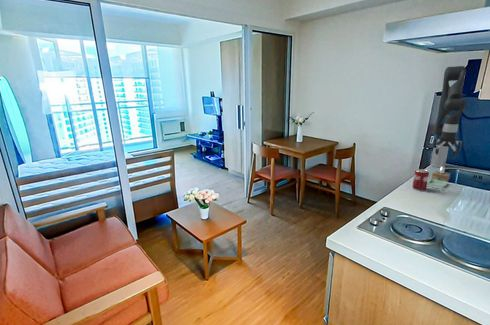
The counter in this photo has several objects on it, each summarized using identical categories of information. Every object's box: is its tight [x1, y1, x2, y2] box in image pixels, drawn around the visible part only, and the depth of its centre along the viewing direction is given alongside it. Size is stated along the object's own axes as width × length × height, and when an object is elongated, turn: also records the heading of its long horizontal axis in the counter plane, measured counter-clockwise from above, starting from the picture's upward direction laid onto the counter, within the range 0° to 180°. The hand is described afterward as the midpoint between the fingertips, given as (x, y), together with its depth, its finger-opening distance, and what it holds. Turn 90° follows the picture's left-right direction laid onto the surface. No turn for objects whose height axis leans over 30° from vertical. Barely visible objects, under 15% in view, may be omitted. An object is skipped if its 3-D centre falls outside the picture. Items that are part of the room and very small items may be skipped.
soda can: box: [411, 168, 430, 192], centre depth 159 cm, size 7×7×12 cm
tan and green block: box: [430, 170, 451, 183], centre depth 171 cm, size 13×9×5 cm
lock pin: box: [438, 165, 446, 174], centre depth 171 cm, size 3×3×9 cm
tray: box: [427, 178, 449, 191], centre depth 164 cm, size 10×9×2 cm
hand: (444, 155), depth 168 cm, fingers open, 8 cm apart
